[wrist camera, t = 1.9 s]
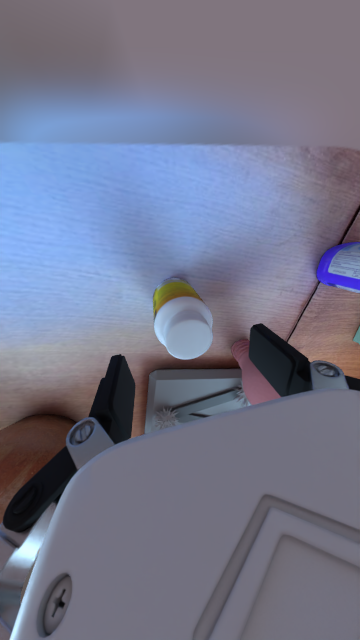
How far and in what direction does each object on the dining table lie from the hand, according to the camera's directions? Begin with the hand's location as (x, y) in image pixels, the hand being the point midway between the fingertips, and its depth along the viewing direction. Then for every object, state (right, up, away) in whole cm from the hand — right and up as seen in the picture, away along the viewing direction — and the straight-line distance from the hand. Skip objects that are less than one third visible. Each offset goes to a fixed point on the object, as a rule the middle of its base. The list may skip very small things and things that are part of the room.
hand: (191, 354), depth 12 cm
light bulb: (+10, -2, +16) cm, 19 cm away
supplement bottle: (-2, +6, +10) cm, 12 cm away
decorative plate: (+2, -18, +24) cm, 30 cm away
